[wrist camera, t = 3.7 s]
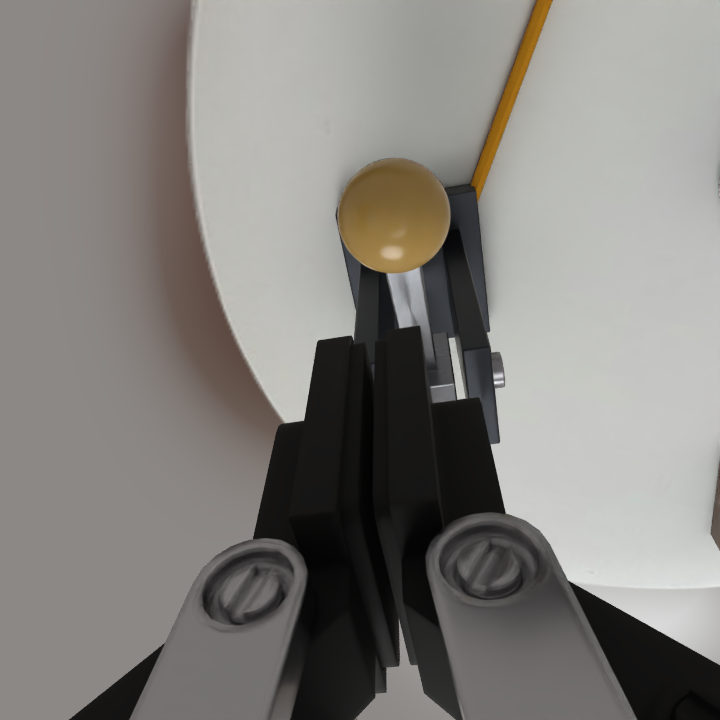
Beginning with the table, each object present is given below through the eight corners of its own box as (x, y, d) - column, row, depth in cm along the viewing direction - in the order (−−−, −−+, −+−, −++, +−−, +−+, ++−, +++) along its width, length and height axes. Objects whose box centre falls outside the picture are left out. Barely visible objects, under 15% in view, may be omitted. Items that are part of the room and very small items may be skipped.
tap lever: (325, 144, 18) (327, 226, 17) (438, 123, 18) (453, 205, 16) (388, 370, 28) (393, 436, 27) (462, 359, 28) (473, 426, 26)
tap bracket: (336, 206, 34) (312, 327, 23) (473, 183, 33) (516, 296, 22) (364, 339, 38) (356, 495, 27) (487, 322, 37) (529, 475, 26)
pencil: (577, -120, 27) (582, -122, 26) (593, -115, 27) (599, -117, 26) (430, 291, 36) (430, 297, 36) (442, 294, 36) (443, 300, 36)
